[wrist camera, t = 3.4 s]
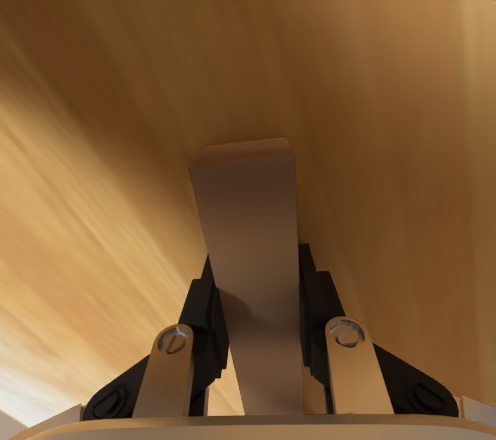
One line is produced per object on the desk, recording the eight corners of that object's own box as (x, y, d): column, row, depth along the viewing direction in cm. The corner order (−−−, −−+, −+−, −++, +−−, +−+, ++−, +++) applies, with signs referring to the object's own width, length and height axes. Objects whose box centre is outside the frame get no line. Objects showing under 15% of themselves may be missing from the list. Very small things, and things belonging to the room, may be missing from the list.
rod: (206, 144, 10) (188, 167, 8) (285, 135, 10) (294, 156, 7) (264, 451, 22) (265, 502, 19) (301, 450, 21) (307, 502, 19)
